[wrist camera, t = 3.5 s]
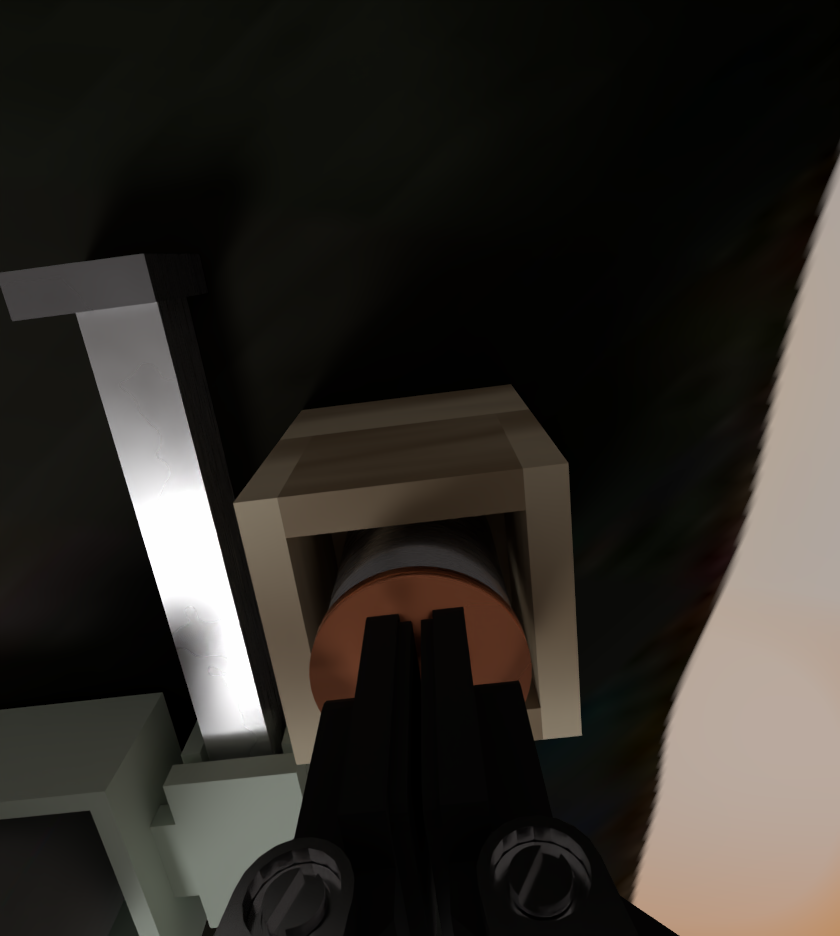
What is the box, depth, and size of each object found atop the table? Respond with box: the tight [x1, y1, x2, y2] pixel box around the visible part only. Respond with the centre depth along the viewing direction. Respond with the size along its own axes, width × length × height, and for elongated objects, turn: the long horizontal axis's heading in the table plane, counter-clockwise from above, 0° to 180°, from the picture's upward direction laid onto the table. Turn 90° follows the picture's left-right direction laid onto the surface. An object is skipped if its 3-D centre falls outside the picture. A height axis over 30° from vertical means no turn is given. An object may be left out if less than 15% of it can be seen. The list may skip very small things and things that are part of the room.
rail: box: [0, 254, 287, 761], centre depth 19 cm, size 24×3×4 cm, turn 7°
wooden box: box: [233, 384, 582, 765], centre depth 15 cm, size 6×6×7 cm
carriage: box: [0, 692, 310, 936], centre depth 20 cm, size 8×13×4 cm, turn 97°
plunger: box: [309, 515, 532, 712], centre depth 13 cm, size 4×4×5 cm
